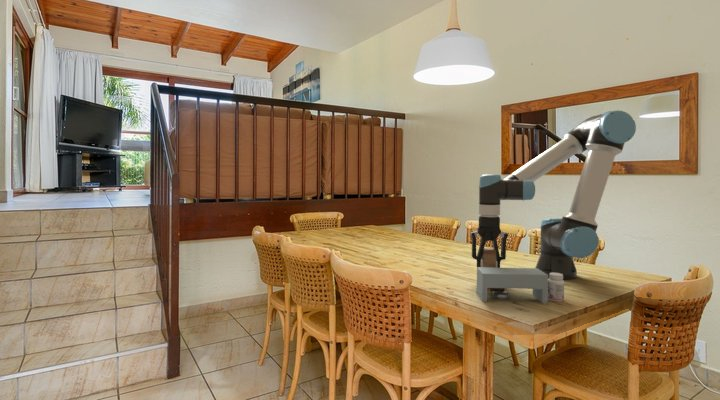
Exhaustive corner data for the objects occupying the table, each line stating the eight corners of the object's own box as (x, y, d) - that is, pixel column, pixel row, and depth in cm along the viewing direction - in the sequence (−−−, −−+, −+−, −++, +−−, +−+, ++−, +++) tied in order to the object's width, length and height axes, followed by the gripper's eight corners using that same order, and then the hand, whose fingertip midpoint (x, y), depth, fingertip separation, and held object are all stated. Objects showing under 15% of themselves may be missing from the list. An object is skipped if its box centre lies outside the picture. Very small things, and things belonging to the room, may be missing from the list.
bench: (537, 294, 130) (537, 268, 130) (547, 303, 121) (548, 275, 121) (476, 293, 132) (476, 267, 132) (482, 301, 123) (482, 273, 123)
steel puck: (506, 295, 130) (506, 290, 130) (510, 300, 125) (510, 294, 125) (491, 295, 130) (491, 289, 130) (494, 300, 125) (494, 294, 125)
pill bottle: (544, 297, 127) (545, 272, 127) (558, 297, 128) (558, 272, 127) (552, 302, 123) (553, 276, 122) (567, 301, 123) (567, 275, 122)
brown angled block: (480, 278, 148) (480, 247, 147) (493, 279, 147) (493, 248, 146) (490, 291, 131) (490, 256, 130) (504, 292, 130) (505, 257, 130)
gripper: (510, 215, 146) (509, 275, 148) (463, 214, 148) (462, 274, 150) (516, 217, 139) (515, 280, 140) (466, 216, 141) (465, 279, 142)
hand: (488, 277), depth 145 cm, fingers closed on brown angled block, 4 cm apart
